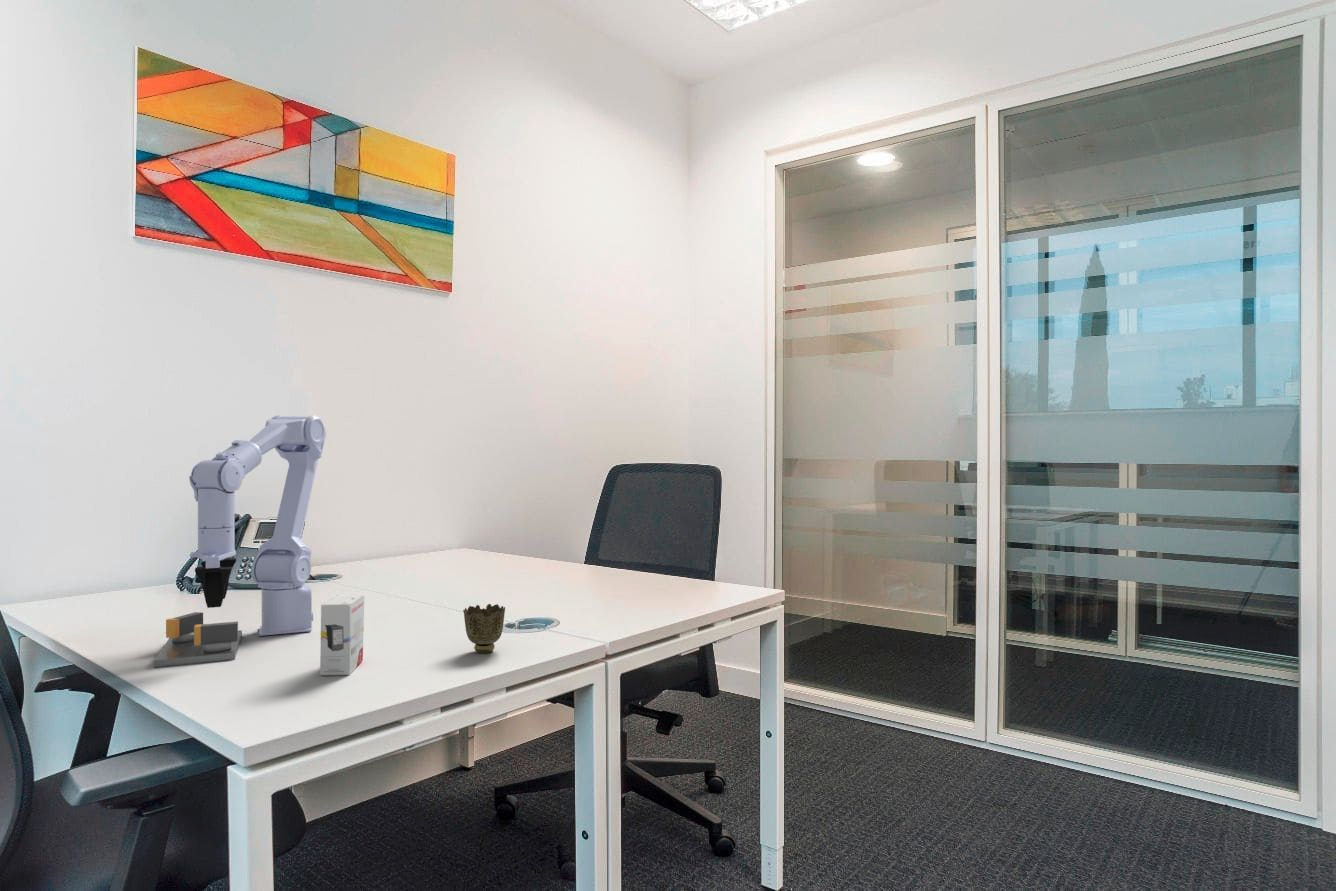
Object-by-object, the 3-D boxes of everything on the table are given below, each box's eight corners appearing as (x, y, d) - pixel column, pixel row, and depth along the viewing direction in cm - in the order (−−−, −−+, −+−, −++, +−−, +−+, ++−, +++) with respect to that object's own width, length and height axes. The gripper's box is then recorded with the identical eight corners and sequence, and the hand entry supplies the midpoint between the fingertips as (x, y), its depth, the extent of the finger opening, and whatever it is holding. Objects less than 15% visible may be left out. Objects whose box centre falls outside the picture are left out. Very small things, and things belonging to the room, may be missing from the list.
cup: (463, 658, 140) (463, 613, 140) (463, 647, 147) (463, 604, 147) (506, 655, 142) (506, 610, 142) (503, 645, 149) (503, 602, 149)
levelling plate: (241, 636, 155) (241, 621, 155) (234, 659, 139) (234, 642, 139) (170, 642, 150) (170, 627, 150) (154, 667, 134) (154, 649, 134)
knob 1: (189, 634, 151) (189, 611, 151) (209, 635, 150) (209, 612, 150) (160, 643, 145) (160, 619, 145) (180, 644, 144) (180, 620, 144)
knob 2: (238, 643, 145) (238, 619, 145) (236, 649, 141) (236, 624, 141) (196, 647, 142) (196, 623, 142) (193, 653, 138) (193, 628, 138)
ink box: (335, 662, 137) (335, 594, 137) (365, 661, 138) (365, 593, 138) (318, 677, 129) (318, 604, 129) (350, 676, 129) (350, 604, 129)
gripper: (195, 524, 146) (195, 597, 146) (185, 532, 133) (185, 612, 133) (238, 522, 149) (238, 594, 149) (232, 530, 136) (232, 609, 136)
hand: (216, 603), depth 141 cm, fingers open, 7 cm apart
